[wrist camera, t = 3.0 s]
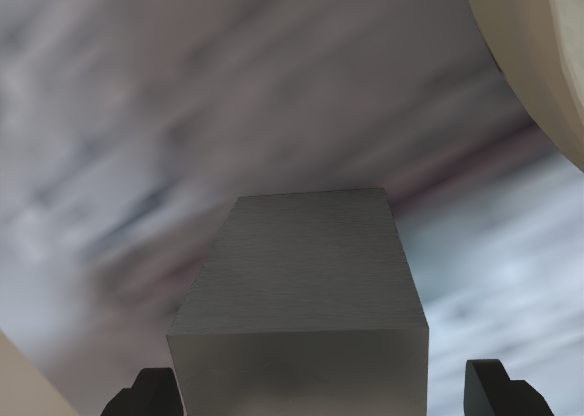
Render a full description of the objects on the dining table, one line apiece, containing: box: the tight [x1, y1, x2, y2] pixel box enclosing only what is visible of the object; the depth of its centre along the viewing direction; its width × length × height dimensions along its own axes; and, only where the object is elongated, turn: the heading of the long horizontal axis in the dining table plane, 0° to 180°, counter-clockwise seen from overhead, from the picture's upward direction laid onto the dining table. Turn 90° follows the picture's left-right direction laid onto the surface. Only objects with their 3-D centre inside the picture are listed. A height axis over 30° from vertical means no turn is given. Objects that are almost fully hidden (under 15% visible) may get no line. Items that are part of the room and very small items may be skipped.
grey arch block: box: [166, 188, 429, 416], centre depth 12 cm, size 8×4×6 cm, turn 6°
